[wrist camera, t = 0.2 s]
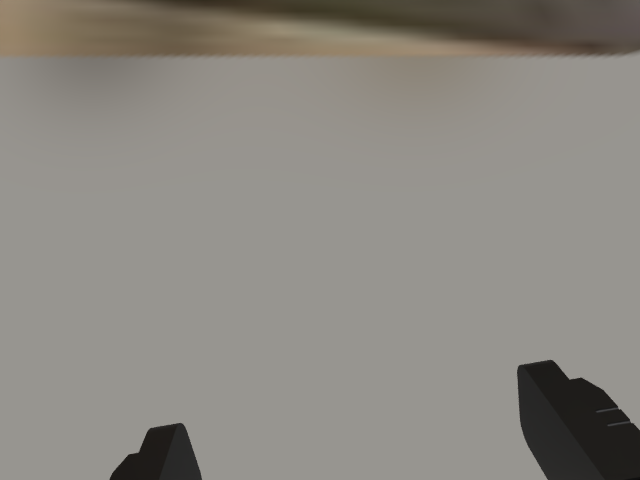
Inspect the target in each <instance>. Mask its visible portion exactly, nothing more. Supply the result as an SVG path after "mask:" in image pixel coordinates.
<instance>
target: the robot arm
mask: <svg viewBox="0 0 640 480" xmlns="http://www.w3.org/2000/svg"><path fill="white" fill-rule="evenodd" d="M517 376H518V394H519V411H520V422H521V427H522V431H523V434H524V437H525V440H526V442H527V445H528V447H529V448H530V450H531V452H532V453H533V455H534V457H535V458H536V460H537V462H538V464H539V466H540V467H541V469H542V471H543V472H544V474H545V476H546V477H547V479H548V480H640V430H639V429H638V428H637V427H636V426H635V425H634V424H633V423H631V422H630V419H629V418H628V417H627V416H626V415H625V414H624V412H623V411H622V410H621V409H620V410H619V409H618V406H617V405H616V404H615V403H614V402H613V400H612V399H611V398H610V397H609V396H608V395H607V394H606V393H605V392H604V390H602V389H601V388H599V387H596V386H595V385H593V384H592V383H590V382H588V381H586V380H585V379H583V378H577V379H571V380H569V378H568V377H567V376H566V375H565V374H564V373H563V372H562V370H561V369H560V368H559V366H558V365H557V364H556V363H555V362H554V361H553V360H547V361H541V362H535V363H530V364H524V365H519V367H518V370H517ZM110 480H202V478H201V473H200V470H199V467H198V464H197V460H196V457H195V454H194V451H193V449H192V445H191V442H190V439H189V436H188V433H187V430H186V428H185V426H184V425H183V424H182V423H177V424H172V425H166V426H160V427H154V428H150V429H149V430H148V432H147V434H146V436H145V439H144V441H143V443H142V446H141V448H140V451H139V453H135V454H129V455H128V456H127V457H126V458H125V459H124V461H123V462H122V463H121V464H120V465H119V466H118V467H117V468H116V470H115V471H114V472H113V473H112V475H111V477H110Z"/></svg>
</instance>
